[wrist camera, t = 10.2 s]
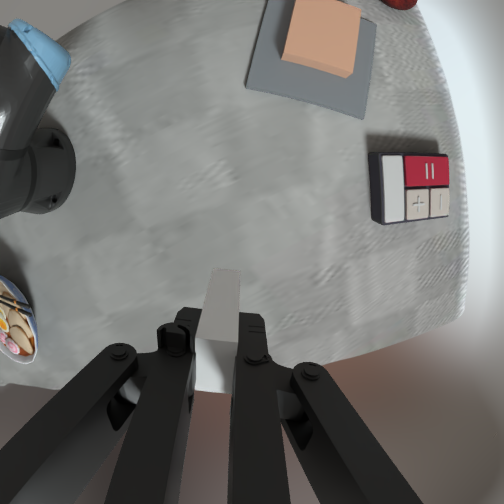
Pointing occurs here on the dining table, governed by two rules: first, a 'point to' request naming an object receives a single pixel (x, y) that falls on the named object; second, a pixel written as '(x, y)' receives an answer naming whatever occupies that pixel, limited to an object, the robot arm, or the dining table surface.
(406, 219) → the calculator
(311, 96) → the mat
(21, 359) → the ramen bowl
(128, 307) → the dining table surface
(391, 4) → the apple
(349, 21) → the block
